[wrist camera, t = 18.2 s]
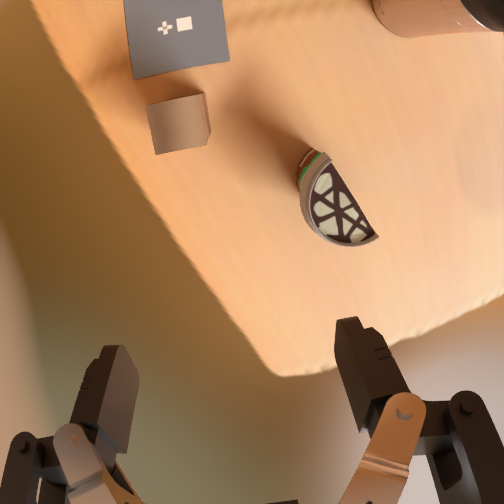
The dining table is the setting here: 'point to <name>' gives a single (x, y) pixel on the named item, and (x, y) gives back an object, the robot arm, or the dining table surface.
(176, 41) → the tile
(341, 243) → the food container
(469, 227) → the dining table surface
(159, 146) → the walnut block
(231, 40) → the dining table surface
